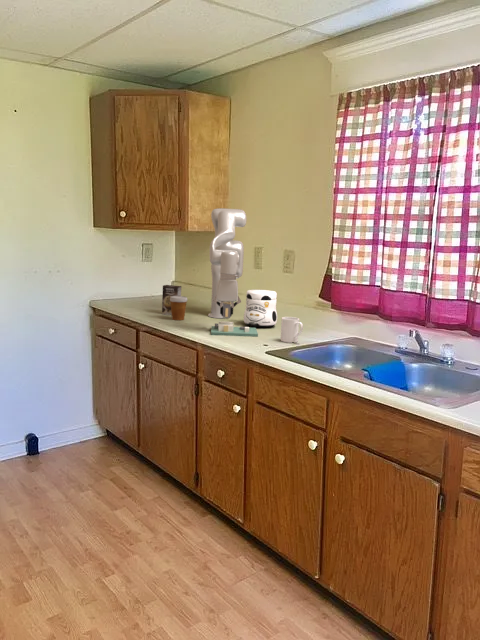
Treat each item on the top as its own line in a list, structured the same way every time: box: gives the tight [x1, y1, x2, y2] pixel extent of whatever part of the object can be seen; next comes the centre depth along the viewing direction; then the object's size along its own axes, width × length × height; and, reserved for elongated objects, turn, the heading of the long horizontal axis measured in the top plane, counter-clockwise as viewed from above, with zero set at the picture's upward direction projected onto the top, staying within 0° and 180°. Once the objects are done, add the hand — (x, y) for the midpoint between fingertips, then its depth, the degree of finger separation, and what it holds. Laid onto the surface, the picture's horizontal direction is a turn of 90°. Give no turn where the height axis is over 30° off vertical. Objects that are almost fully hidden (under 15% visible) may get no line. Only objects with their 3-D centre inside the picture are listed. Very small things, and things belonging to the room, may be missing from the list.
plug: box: [222, 301, 231, 319], centre depth 268 cm, size 6×4×7 cm, turn 2°
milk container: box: [243, 289, 278, 328], centre depth 290 cm, size 17×17×18 cm
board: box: [210, 321, 259, 338], centre depth 271 cm, size 16×22×4 cm
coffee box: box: [161, 284, 182, 316], centre depth 313 cm, size 9×6×16 cm
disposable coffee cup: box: [170, 295, 188, 321], centre depth 298 cm, size 10×10×12 cm
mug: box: [280, 316, 304, 344], centre depth 254 cm, size 12×8×10 cm, turn 35°
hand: (226, 315), depth 269 cm, fingers closed on plug, 3 cm apart
